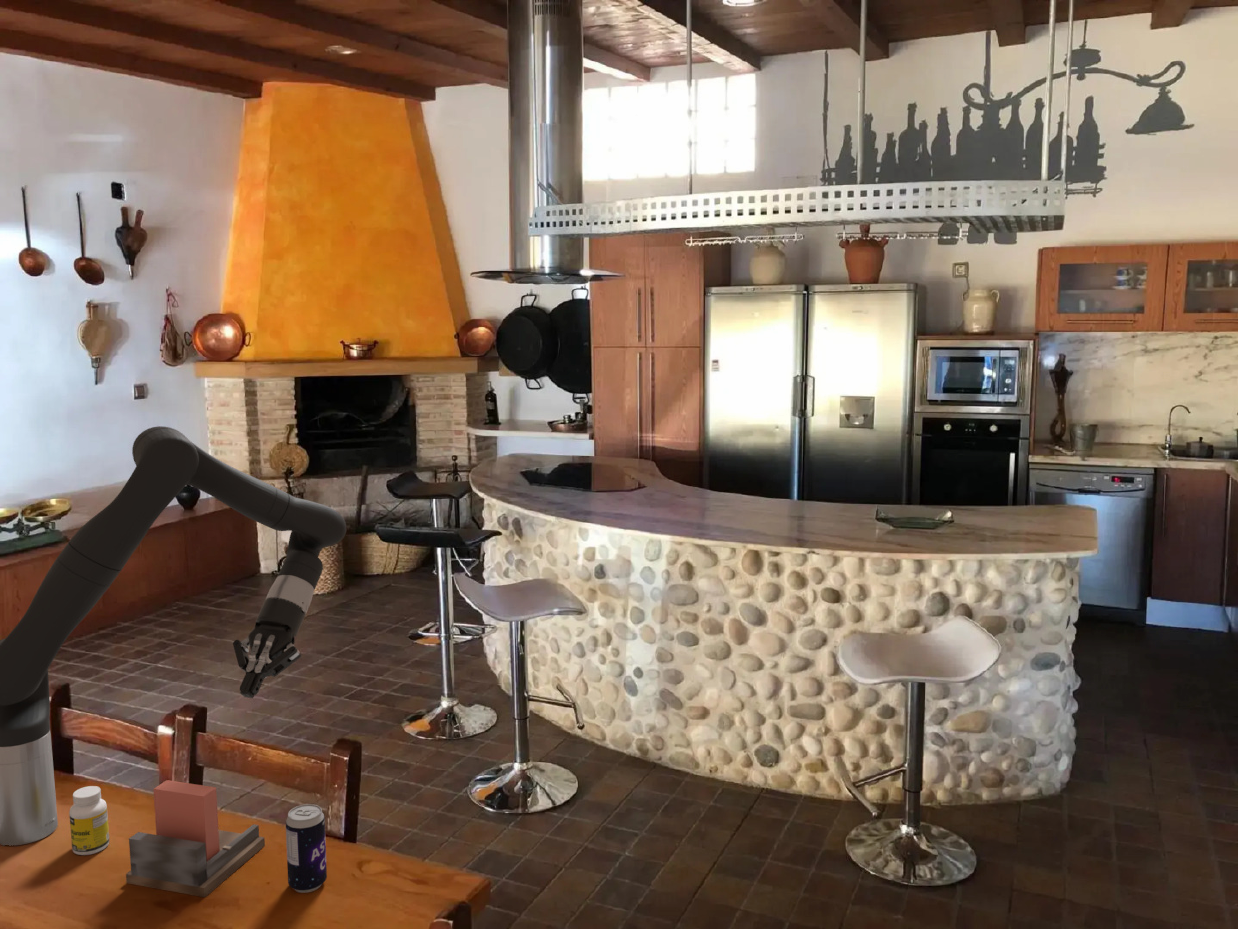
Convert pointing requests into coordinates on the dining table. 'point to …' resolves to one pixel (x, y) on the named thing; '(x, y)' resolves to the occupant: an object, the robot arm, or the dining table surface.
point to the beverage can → (306, 848)
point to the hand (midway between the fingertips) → (246, 695)
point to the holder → (189, 861)
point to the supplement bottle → (88, 821)
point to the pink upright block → (188, 813)
